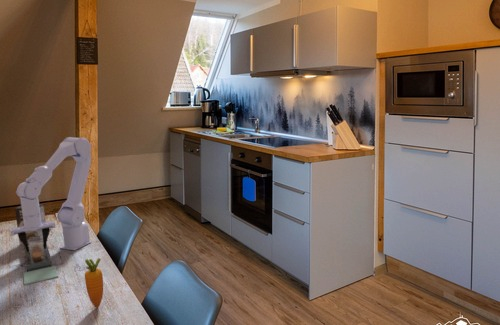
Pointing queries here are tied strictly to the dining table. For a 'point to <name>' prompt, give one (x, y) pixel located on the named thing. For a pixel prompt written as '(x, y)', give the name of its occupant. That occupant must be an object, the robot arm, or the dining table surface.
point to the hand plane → (37, 259)
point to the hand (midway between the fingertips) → (36, 249)
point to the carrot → (94, 282)
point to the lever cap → (35, 244)
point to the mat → (40, 275)
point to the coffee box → (21, 223)
